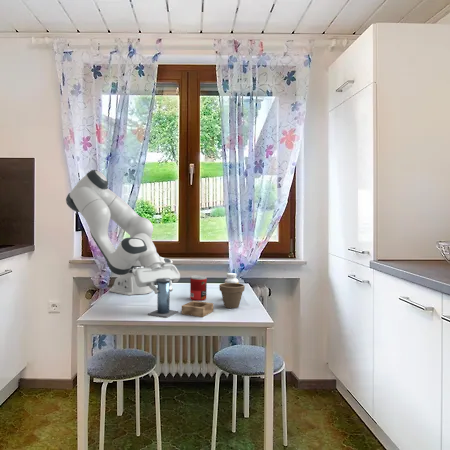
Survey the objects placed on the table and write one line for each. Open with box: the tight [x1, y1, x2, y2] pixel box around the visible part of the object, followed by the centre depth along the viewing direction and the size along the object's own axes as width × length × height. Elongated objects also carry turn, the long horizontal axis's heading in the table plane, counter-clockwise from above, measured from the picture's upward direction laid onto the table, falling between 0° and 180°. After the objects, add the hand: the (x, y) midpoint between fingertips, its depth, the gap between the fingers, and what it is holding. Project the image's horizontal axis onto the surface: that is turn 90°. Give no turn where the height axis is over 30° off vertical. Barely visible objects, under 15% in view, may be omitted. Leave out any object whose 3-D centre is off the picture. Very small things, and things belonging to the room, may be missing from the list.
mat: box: [147, 309, 179, 319], centre depth 167 cm, size 9×9×1 cm
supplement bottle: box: [224, 272, 240, 284], centre depth 193 cm, size 7×7×13 cm
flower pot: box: [218, 282, 246, 309], centre depth 180 cm, size 12×11×10 cm
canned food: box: [189, 275, 208, 302], centre depth 194 cm, size 8×8×11 cm
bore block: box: [181, 300, 214, 318], centre depth 169 cm, size 10×10×4 cm
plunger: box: [156, 278, 171, 313], centre depth 166 cm, size 6×6×14 cm
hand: (164, 291), depth 166 cm, fingers closed on plunger, 5 cm apart
